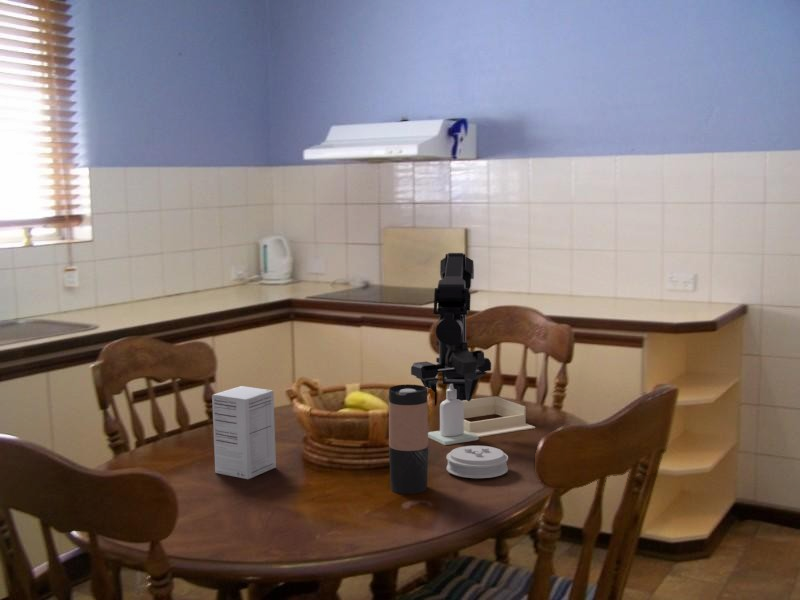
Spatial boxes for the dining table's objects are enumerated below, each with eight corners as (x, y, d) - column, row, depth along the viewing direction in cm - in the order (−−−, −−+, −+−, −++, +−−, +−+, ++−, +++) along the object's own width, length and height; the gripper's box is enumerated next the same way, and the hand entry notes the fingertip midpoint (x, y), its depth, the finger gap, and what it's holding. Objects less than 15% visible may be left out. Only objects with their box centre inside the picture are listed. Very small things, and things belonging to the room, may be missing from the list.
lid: (470, 486, 188) (470, 462, 187) (434, 470, 199) (434, 447, 198) (520, 475, 195) (520, 452, 194) (483, 460, 205) (483, 438, 205)
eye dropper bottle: (439, 432, 225) (438, 382, 223) (463, 431, 225) (462, 381, 223) (440, 437, 220) (439, 386, 219) (464, 436, 220) (464, 385, 219)
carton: (441, 421, 238) (441, 403, 238) (495, 413, 246) (495, 396, 245) (478, 437, 223) (479, 418, 223) (535, 428, 231) (535, 410, 230)
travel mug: (419, 480, 191) (418, 382, 189) (434, 491, 184) (434, 390, 182) (383, 485, 189) (382, 386, 186) (397, 496, 182) (396, 394, 179)
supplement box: (243, 461, 206) (241, 385, 203) (277, 467, 201) (275, 389, 199) (213, 473, 197) (210, 393, 195) (247, 480, 193) (245, 398, 191)
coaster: (425, 435, 224) (425, 432, 224) (458, 430, 229) (458, 427, 229) (445, 445, 217) (445, 441, 217) (478, 439, 221) (478, 436, 221)
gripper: (434, 346, 208) (434, 415, 210) (504, 338, 217) (504, 405, 219) (409, 338, 218) (410, 405, 220) (478, 331, 227) (478, 396, 229)
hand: (451, 403), depth 222 cm, fingers open, 9 cm apart
